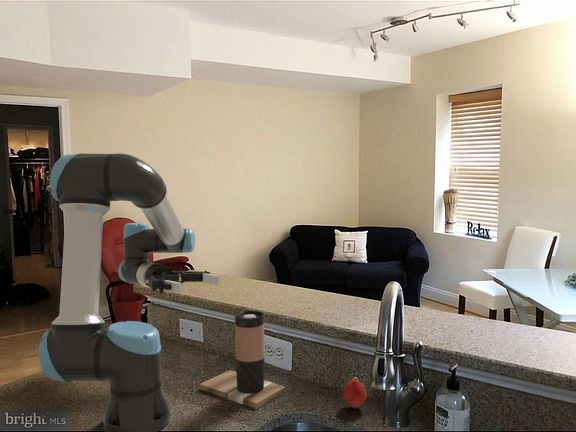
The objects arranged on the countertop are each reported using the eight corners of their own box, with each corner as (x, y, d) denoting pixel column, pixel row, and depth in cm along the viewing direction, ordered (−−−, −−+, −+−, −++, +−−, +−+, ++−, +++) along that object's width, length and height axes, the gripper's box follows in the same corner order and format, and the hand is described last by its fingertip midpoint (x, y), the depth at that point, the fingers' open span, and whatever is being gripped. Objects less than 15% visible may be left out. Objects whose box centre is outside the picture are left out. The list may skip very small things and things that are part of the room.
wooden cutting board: (285, 392, 136) (285, 386, 136) (256, 409, 126) (256, 403, 126) (230, 374, 148) (229, 369, 148) (199, 389, 138) (199, 383, 138)
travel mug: (264, 394, 131) (262, 318, 129) (234, 394, 131) (233, 318, 130) (265, 382, 139) (264, 310, 137) (237, 382, 139) (236, 310, 137)
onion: (338, 408, 126) (338, 377, 126) (351, 400, 131) (351, 370, 130) (357, 415, 122) (357, 383, 122) (370, 407, 127) (371, 376, 126)
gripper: (187, 281, 164) (233, 290, 151) (118, 294, 145) (163, 306, 132) (187, 258, 164) (232, 265, 150) (117, 269, 145) (162, 277, 131)
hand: (200, 284), depth 141 cm, fingers open, 13 cm apart
